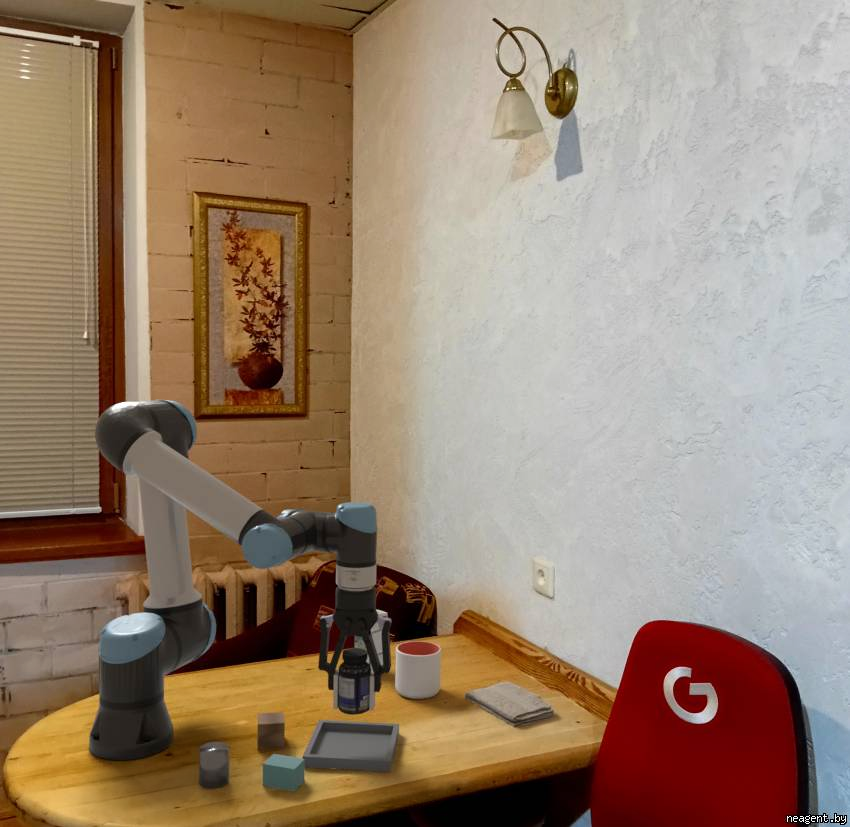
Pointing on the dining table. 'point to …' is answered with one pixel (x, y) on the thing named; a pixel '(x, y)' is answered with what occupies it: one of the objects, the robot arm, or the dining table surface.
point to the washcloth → (511, 703)
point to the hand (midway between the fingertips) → (354, 706)
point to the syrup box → (376, 638)
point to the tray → (352, 745)
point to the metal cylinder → (214, 765)
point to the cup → (418, 669)
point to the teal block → (283, 772)
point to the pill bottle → (354, 682)
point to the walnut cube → (270, 730)
